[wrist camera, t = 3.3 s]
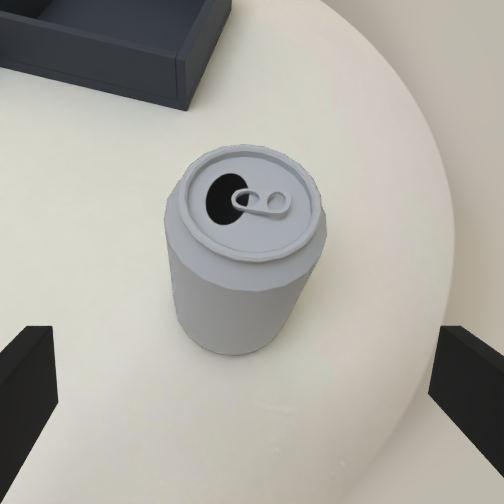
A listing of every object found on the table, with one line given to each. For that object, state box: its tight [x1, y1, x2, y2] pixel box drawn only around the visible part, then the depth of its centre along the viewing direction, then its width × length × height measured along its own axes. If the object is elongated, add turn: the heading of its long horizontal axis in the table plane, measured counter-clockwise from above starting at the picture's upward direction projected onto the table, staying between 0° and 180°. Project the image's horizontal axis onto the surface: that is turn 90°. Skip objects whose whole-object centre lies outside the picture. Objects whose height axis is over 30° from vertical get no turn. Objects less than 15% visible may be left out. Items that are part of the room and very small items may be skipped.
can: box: [164, 144, 327, 355], centre depth 22 cm, size 8×8×12 cm
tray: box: [0, 0, 232, 111], centre depth 39 cm, size 18×18×5 cm
